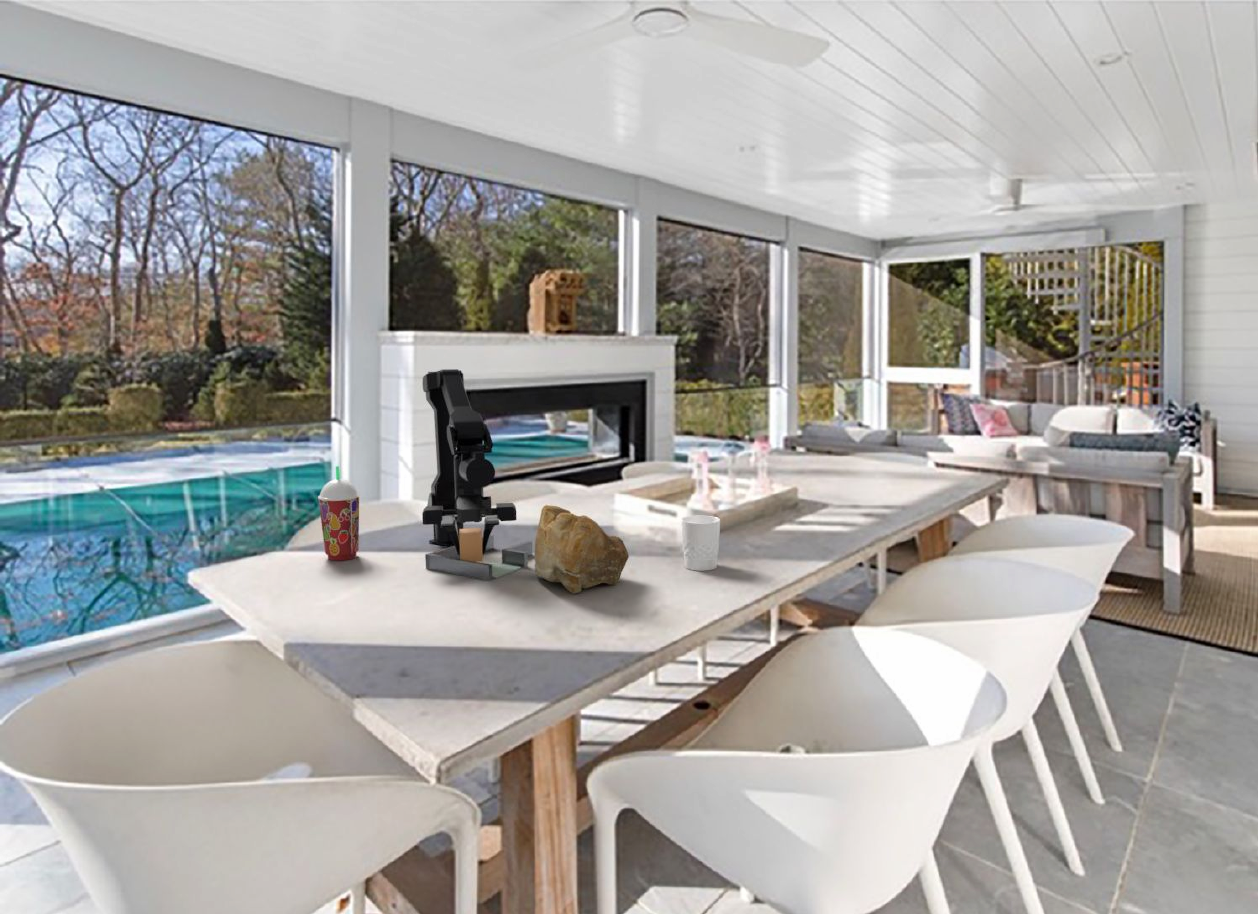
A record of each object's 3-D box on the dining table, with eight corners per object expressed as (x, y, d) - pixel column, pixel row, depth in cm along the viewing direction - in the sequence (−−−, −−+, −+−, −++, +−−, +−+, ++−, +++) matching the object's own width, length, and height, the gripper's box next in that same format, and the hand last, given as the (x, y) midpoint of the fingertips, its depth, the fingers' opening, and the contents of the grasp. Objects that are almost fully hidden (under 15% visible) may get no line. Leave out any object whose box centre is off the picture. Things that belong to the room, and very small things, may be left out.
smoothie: (370, 555, 174) (366, 465, 171) (342, 564, 166) (337, 470, 164) (342, 551, 177) (337, 462, 175) (313, 560, 170) (307, 468, 167)
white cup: (723, 563, 166) (723, 516, 165) (714, 573, 159) (715, 524, 158) (687, 560, 169) (687, 514, 168) (676, 570, 162) (677, 522, 160)
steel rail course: (425, 568, 163) (425, 554, 163) (490, 547, 180) (490, 534, 180) (489, 580, 154) (488, 565, 154) (550, 557, 171) (550, 544, 171)
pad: (465, 572, 160) (465, 571, 160) (491, 563, 167) (491, 561, 167) (495, 578, 156) (495, 576, 156) (521, 568, 163) (521, 567, 163)
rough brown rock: (645, 600, 145) (650, 519, 144) (557, 602, 139) (562, 518, 138) (604, 571, 167) (609, 500, 166) (527, 572, 161) (531, 499, 160)
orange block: (460, 557, 166) (459, 529, 165) (482, 555, 167) (481, 528, 166) (460, 562, 162) (459, 533, 161) (482, 561, 163) (481, 532, 162)
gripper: (419, 488, 153) (422, 567, 155) (517, 484, 156) (518, 561, 158) (422, 479, 163) (425, 553, 166) (514, 476, 167) (515, 548, 169)
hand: (471, 554), depth 164 cm, fingers closed on orange block, 4 cm apart
